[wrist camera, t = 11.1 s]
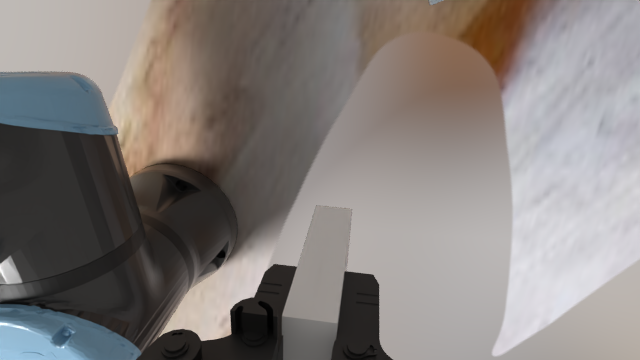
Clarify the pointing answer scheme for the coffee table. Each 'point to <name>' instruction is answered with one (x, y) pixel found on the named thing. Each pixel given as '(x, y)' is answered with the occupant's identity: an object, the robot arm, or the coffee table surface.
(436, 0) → the stand
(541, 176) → the coffee table surface
